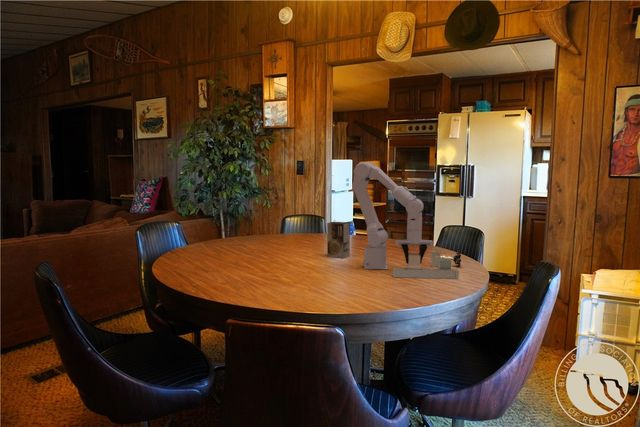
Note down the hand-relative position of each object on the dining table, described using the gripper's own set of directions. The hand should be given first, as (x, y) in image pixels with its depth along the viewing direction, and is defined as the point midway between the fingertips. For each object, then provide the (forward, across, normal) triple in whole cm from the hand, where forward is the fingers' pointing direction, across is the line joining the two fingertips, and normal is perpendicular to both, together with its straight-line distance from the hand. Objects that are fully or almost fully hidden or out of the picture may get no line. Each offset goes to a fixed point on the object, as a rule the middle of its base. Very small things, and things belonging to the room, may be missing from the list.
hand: (413, 263), depth 170 cm
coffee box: (+3, -31, +28) cm, 42 cm away
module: (+2, 0, -1) cm, 3 cm away
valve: (+4, +15, +11) cm, 19 cm away
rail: (+3, +3, -7) cm, 8 cm away
